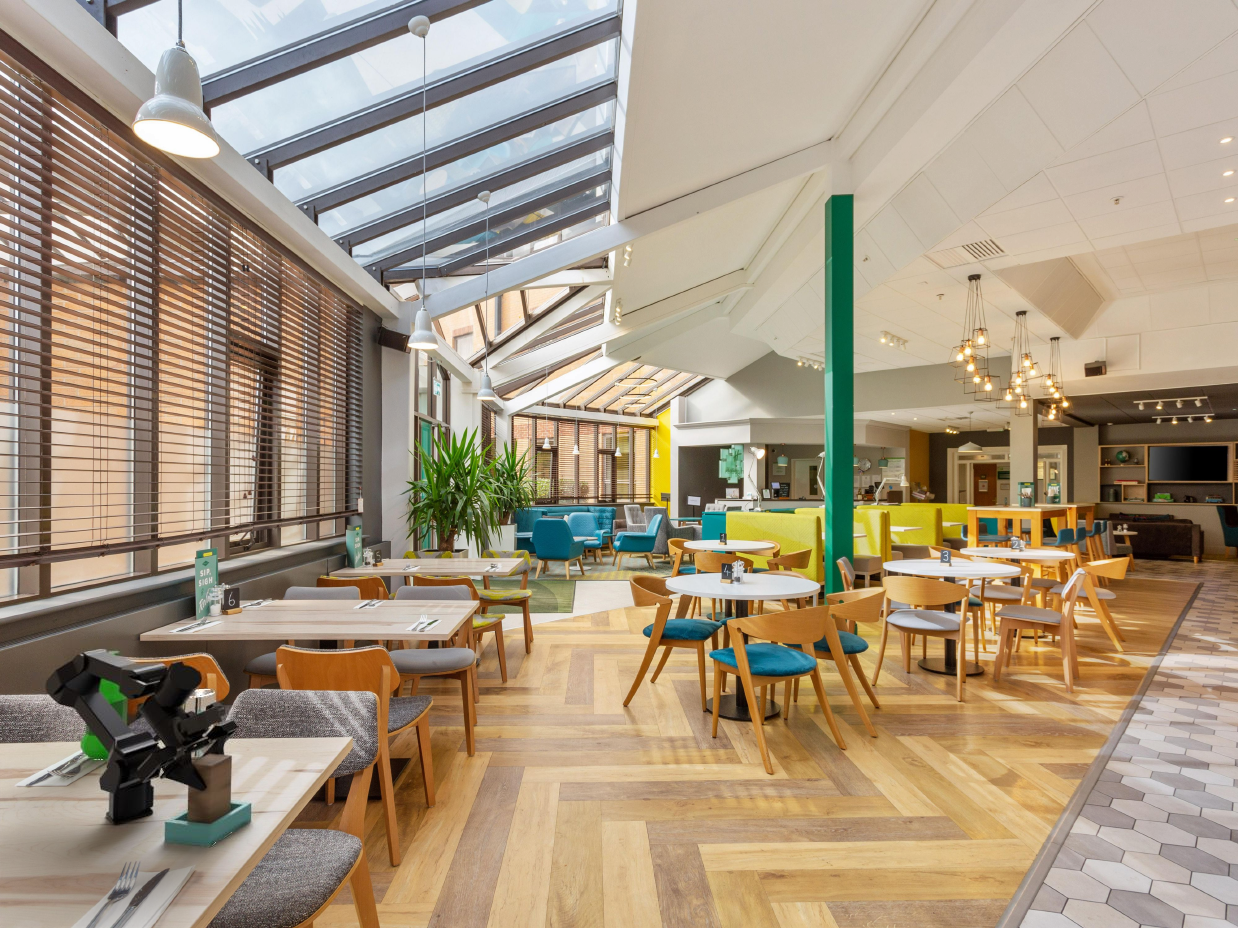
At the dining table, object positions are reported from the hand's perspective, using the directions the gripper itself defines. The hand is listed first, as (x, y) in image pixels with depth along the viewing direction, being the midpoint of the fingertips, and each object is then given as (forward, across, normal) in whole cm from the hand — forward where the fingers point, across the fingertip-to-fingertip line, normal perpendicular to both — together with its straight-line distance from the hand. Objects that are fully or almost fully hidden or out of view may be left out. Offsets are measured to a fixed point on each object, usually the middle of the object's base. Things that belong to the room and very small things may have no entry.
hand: (216, 783), depth 129 cm
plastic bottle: (-32, +25, +46) cm, 61 cm away
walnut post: (+4, 0, +6) cm, 7 cm away
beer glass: (-17, +31, +30) cm, 47 cm away
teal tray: (+5, 0, +7) cm, 9 cm away
